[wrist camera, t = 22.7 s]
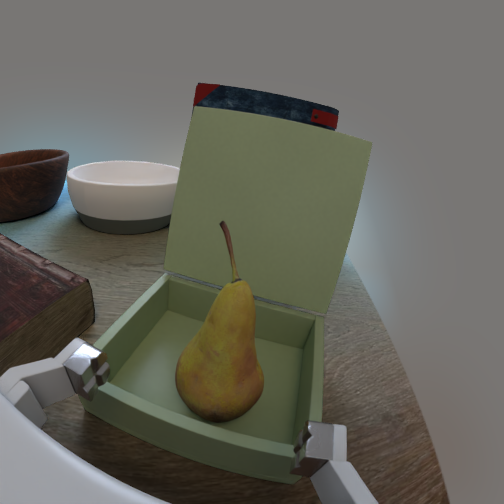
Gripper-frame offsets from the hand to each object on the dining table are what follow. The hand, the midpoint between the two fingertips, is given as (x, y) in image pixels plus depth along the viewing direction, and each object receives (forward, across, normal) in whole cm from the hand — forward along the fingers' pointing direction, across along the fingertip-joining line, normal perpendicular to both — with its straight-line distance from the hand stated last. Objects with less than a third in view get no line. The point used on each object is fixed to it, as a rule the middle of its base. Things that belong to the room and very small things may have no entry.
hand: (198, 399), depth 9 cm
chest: (+7, +1, +8) cm, 11 cm away
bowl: (+34, +27, +9) cm, 45 cm away
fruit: (+5, 0, +8) cm, 10 cm away
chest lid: (+15, +1, -3) cm, 15 cm away
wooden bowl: (+25, +52, +9) cm, 59 cm away
